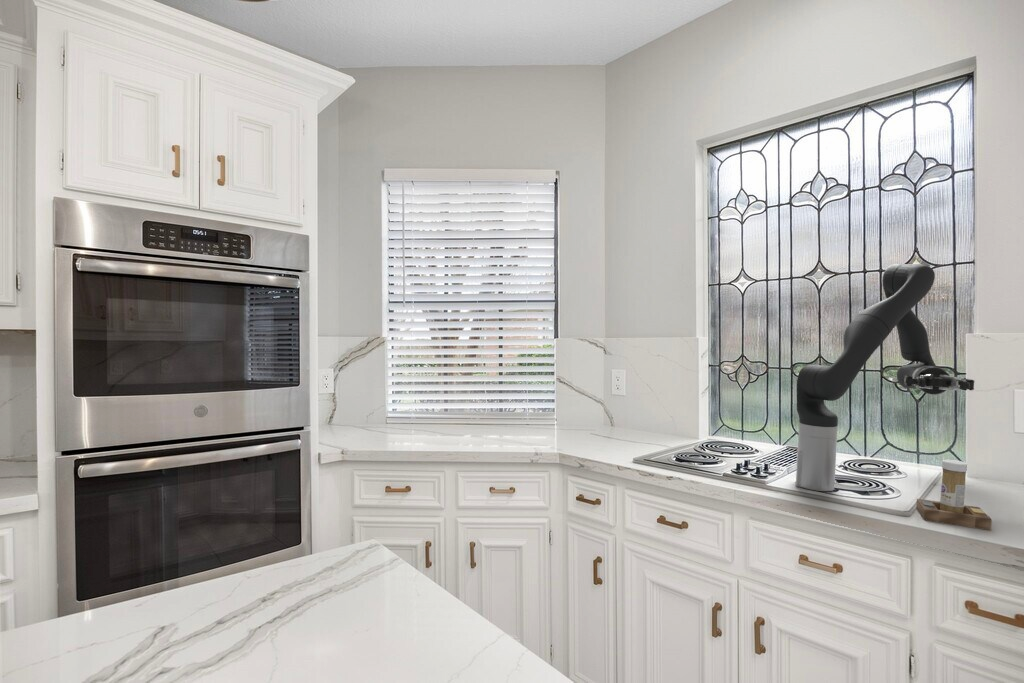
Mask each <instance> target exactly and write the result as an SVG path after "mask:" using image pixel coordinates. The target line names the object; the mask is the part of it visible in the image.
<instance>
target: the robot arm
mask: <svg viewBox="0 0 1024 683" xmlns="http://www.w3.org/2000/svg"><path fill="white" fill-rule="evenodd" d="M935 278H936V274H935V270H934V269H933V268H932V267H931V266H929V265H925V264H914V263H913V264H912V263H911V264H909V263H893V264H890V265H889V266H887V267H886V269H884V272H883V275H882V288H883V292H884V295H885V299H883V300H881V301H879V302H876V303H874V304H873V305H870V306H868V307H867V308H865V309H863V310H861V311H860V312H859V313H858V314H857V315H855V317H854V318H853V319H852V321H850V322H849V324H848V325H847V327H846V328H845V330H844V333H843V350H842V353H841V354H840V356H839V357H838V358H837V359H836V360H835V361H834V362H833V363H832V364H831V365H824V364H823V365H822V364H807V365H805V366H803V367H802V368H800V370H799V372H798V375H797V378H796V412H797V415H798V438H797V440H798V441H797V453H796V454H797V455H796V468H795V469H796V470H795V471H796V473H795V487H800V488H803V489H806V490H810V491H819V492H832V491H834V490H835V483H836V478H835V477H836V463H837V462H836V460H837V446H838V444H837V443H838V430H839V429H838V427H839V426H838V424H839V423H838V422H839V418H838V415H837V414H835V413H834V412H832V411H831V410H830V409H829V408H828V407H827V406H826V405H825V401H827V402H829V401H830V402H833V401H837V400H839V399H840V398H842V397H843V396H844V394H846V392H847V391H848V389H849V388H850V386H851V385H852V384H853V382H854V380H855V378H856V377H857V375H858V374H859V373H860V371H861V370H862V368H863V367H864V365H865V364H866V363H867V361H868V360H869V359H870V358H871V356H872V355H873V354H874V352H875V351H876V350H877V349H878V348H879V347H880V346H881V345H882V343H883V342H884V341H885V340H886V338H888V336H889V335H890V334H891V332H892V331H893V330H894V328H895V327H896V330H897V334H898V340H899V348H900V355H901V357H902V358H903V360H905V361H908V362H917V363H911V364H905V365H902V366H900V367H899V368H898V370H897V371H896V378H897V382H898V383H899V385H900V386H902V387H903V388H904V389H910V390H911V389H917V390H919V391H921V392H923V393H926V394H928V395H940V394H943V393H945V392H946V391H947V390H949V391H957V390H961V391H974V390H975V380H974V379H971V378H970V379H969V378H967V377H963V378H961V379H960V378H959V377H958V376H950V375H949V373H948V372H947V371H946V370H944V369H943V368H940V367H937V365H936V363H935V361H934V359H933V357H932V355H931V350H930V342H929V336H928V332H927V329H926V328H925V325H924V324H923V322H922V321H921V320H920V319H919V318H918V316H917V315H916V314H915V312H914V311H913V308H914V307H915V306H916V305H917V304H918V303H919V302H920V301H921V300H922V299H924V297H926V296H927V294H928V293H929V291H930V290H931V288H932V287H933V286H934V282H935Z"/></svg>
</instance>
